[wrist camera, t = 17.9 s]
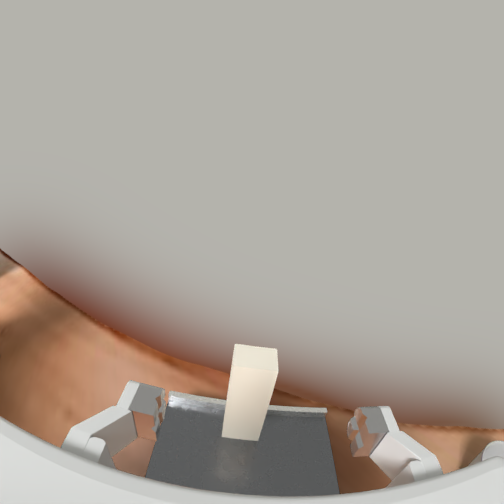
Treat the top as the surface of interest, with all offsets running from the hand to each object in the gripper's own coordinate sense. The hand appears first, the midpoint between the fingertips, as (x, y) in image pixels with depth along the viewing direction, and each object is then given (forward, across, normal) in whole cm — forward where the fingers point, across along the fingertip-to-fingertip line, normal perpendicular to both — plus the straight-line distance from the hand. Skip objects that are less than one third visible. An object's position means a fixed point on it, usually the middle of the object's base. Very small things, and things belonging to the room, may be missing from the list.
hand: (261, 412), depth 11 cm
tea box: (+18, +1, -26) cm, 32 cm away
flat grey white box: (+14, +2, -30) cm, 33 cm away
